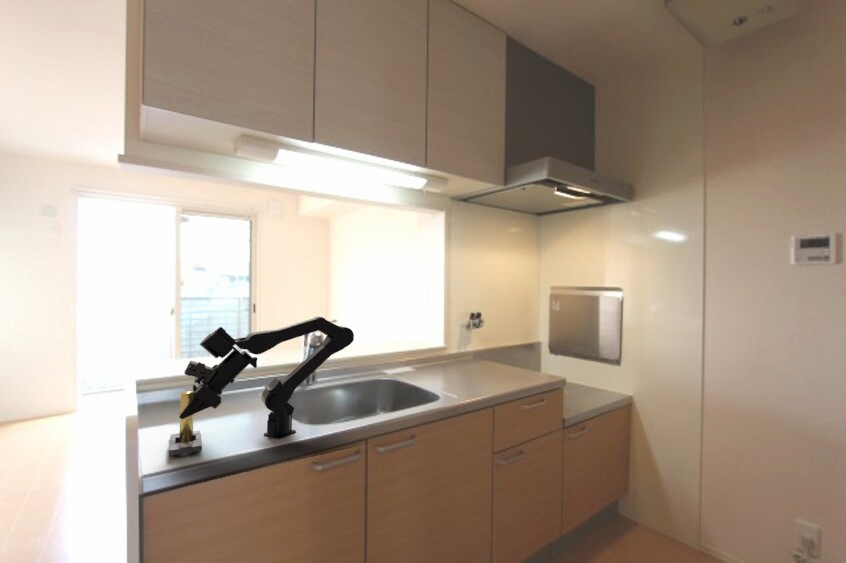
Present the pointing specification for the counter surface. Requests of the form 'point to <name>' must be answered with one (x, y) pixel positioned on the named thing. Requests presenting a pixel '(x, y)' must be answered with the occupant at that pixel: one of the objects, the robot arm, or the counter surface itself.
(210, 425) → the counter surface
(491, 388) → the counter surface
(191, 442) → the grey slotted block
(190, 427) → the pin
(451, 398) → the counter surface
